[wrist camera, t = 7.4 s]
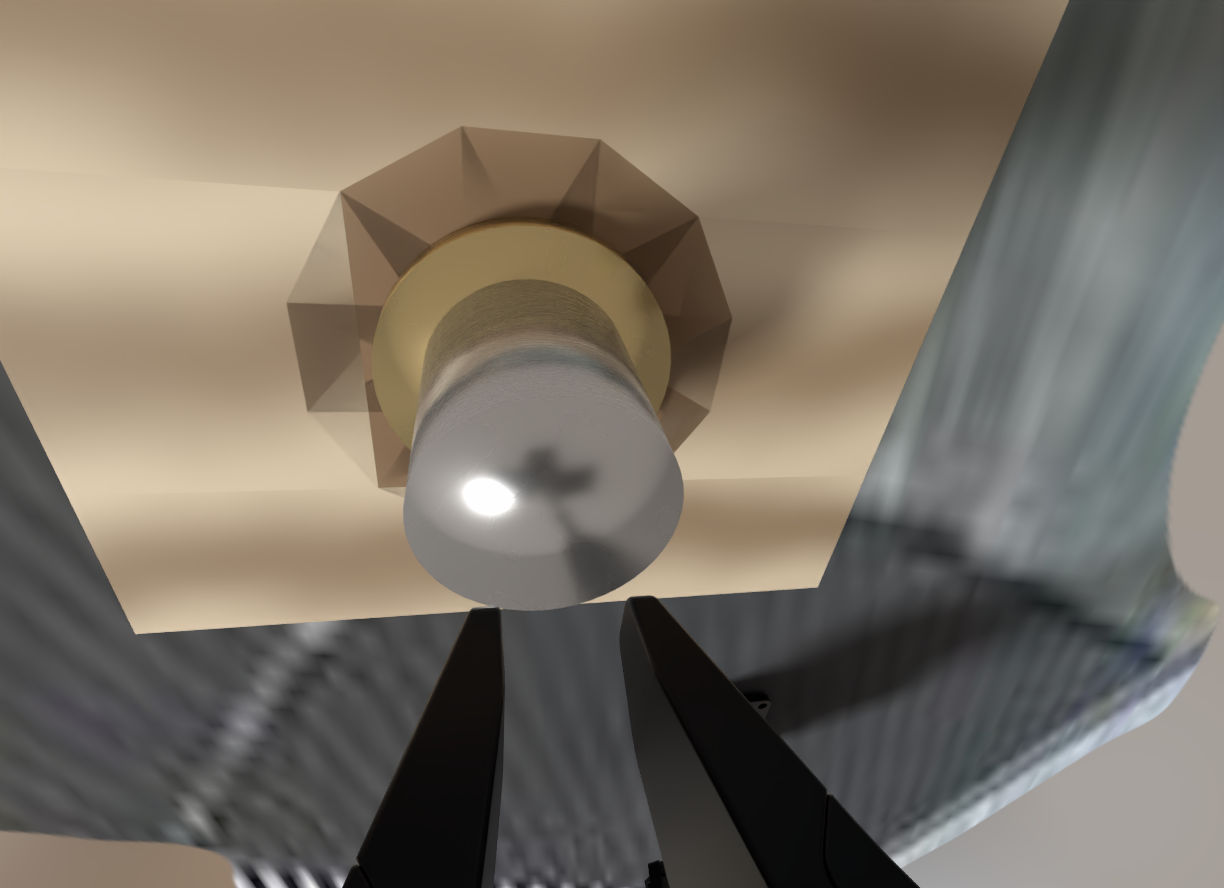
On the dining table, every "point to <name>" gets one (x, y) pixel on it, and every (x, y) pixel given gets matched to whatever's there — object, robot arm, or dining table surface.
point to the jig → (447, 201)
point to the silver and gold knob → (529, 413)
